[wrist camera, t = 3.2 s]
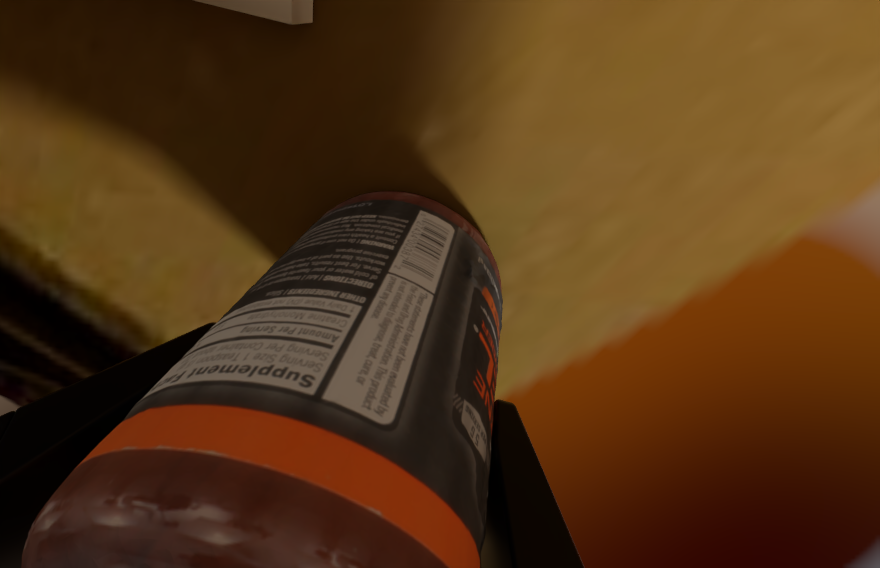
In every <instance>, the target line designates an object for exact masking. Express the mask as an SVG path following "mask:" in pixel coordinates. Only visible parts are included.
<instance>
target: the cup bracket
mask: <svg viewBox="0 0 880 568" xmlns="http://www.w3.org/2000/svg"><path fill="white" fill-rule="evenodd" d="M194 1H198V2H202V3H206V4H210V5H214V6H218V7H222V8H226V9H230V10H234V11H238V12H243V13H247V14H251V15H255V16H259V17H263V18H267V19H271V20H275V21H279V22H283V23H287V24H291V25H293V24H303V23H313V0H194Z"/></svg>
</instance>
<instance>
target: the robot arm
mask: <svg viewBox="0 0 880 568" xmlns="http://www.w3.org/2000/svg"><path fill="white" fill-rule="evenodd" d="M215 324H216V323H215V322H212V323H208V324H206V325H204V326H202V327H199V328H197V329H195V330H193V331H190V332H188V333H186V334H184V335H181V336H179V337H177V338H175V339H172V340H170V341H168V342H166V343H163V344H161V345H159V346H157V347H155V348H152V349H150V350H148V351H146V352H143V353H141V354H139V355H137V356H134V357H132V358H130V359H128V360H125V361H123V362H121V363H119V364H116V365H114V366H112V367H110V368H107V369H105V370H103V371H101V372H99V373H96V374H94V375H92V376H90V377H87V378H85V379H83V380H81V381H78V382H76V383H74V384H72V385H69V386H67V387H65V388H63V389H60V390H58V391H56V392H54V393H51V394H49V395H47V396H45V397H43V398H40V399H38V400H36V401H34V402H31V403H29V404H27V405H25V406H22V407H20V408H18V409H17V410H16V412H15V411H11V412H9V413H6V414H4V415H2V416H0V568H21V566H22V554H23V550H24V546H25V543H26V540H27V538H28V533H29V530H30V529H31V526H32V524H33V522H34V520H35V519H36V517H37V515H38V514H39V512H40V511H41V509H42V508H43V507H44V505H45V504H46V503H47V501H48V500H49V499H50V498H51V496H52V495H53V494H54V492H55V491H56V490H57V489H58V488H59V486H60V485H61V484H62V483H63V482H64V481H65V479H66V478H67V477H68V476H69V475H70V473H71V472H72V471H73V470H74V469H75V468H76V467H77V466H78V465H79V464H80V463H81V462H82V461H83V460H84V459H85V458H86V457H87V455H88V454H89V453H90V452H91V451H92V450H93V449H94V448H95V447H96V446H97V445H98V444H99V443H100V442H101V441H102V440H103V439H104V438H105V437H106V436H107V435H108V434H109V433H110V432H111V431H113V430H114V429H115V428H116V427H117V426H118V425H119V424H120V423H121V422H122V421H123V420H124V419H125V417H126V416H127V415H128V413H129V412H130V411H131V409H132V408H133V407H134V406H135V404H136V403H137V402H139V401H140V400H141V399H142V398H143V397H144V396H145V395H146V394H147V393H148V392H149V391H150V390H151V389H152V388H153V387H154V386H155V385H156V384H157V383H158V382H159V381H160V380H161V379H162V378H163V377H164V376H165V375H166V374H167V372H168V371H169V370H170V369H171V368H172V367H173V366H174V365H175V364H177V363H178V362H179V361H180V360H181V359H182V357H183V356H184V355H185V354H186V353H187V352H188V351H189V350H190V349H191V348H192V347H193V346H194V345H195V344H196V343H197V342H198V341H199V340H200V339H201V338H202V337H203V336H204V335H205V334H206V333H207V332H208V331H209V330H210V329H211V328H212V327H213V326H214V325H215ZM493 416H494V419H493V428H492V435H491V465H490V474H489V480H488V484H489V488H488V497H487V504H486V533H485V539H484V544H483V547H482V550H481V568H584V566H583V563H582V561H581V558H580V556H579V554H578V551H577V549H576V547H575V544H574V542H573V540H572V537H571V536H570V533H569V530H568V528H567V526H566V523H565V521H564V519H563V517H562V514H561V512H560V509H559V507H558V505H557V502H556V500H555V498H554V495H553V493H552V490H551V488H550V486H549V484H548V481H547V479H546V476H545V474H544V472H543V469H542V467H541V465H540V463H539V460H538V458H537V455H536V453H535V451H534V448H533V446H532V444H531V441H530V439H529V437H528V434H527V432H526V430H525V427H524V425H523V423H522V420H521V418H520V416H519V413H518V411H517V408H516V406H515V405H514V404H513V403H510V402H506V401H503V400H496V401H495V402H494V409H493Z"/></svg>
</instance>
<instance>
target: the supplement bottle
mask: <svg viewBox="0 0 880 568" xmlns="http://www.w3.org/2000/svg"><path fill="white" fill-rule="evenodd" d="M502 303H503V300H502V294H501V280H500V275H499V271H498V267H497V264H496V262H495V259H494V257H493V255H492V253H491V251H490V249H489V247H488V245H487V244H486V243H485V241H484V240H483V238H482V236H481V233H480V232H479V231H478V230H477V229H476V228H475V227H473V226H472V225H471V224H470V223H469V222H468V221H467V220H466V219H465V218H463V217H462V216H460V215H459V214H458V213H456V212H454V211H452V210H451V209H449V208H447V207H446V206H444V205H442V204H440V203H439V202H437V201H435V200H432V199H429V198H426V197H423V196H420V195H417V194H412V193H407V192H395V191H380V192H372V193H366V194H362V195H359V196H356V197H354V198H350V199H348V200H346V201H344V202H342V203H340V204H338V205H337V206H336V207H334V208H333V209H331V210H329V211H328V212H326V213H325V214H324V215H323V216H322V217H321V219H319V220H318V221H317V222H316V223H315V224H314V225H312V226H311V227H310V228H309V229H308V230H307V231H306V232H305V233H304V234H303V236H302V237H301V238H299V240H298V241H297V242H296V243H295V244H294V245H292V246H291V248H290V249H289V250H288V251H287V252H286V253H285V254H284V255H283V256H282V257H281V258H280V259H279V260H278V261H276V262H275V263H274V264H273V266H272V267H271V268H270V269H269V270H268V271H267V272H266V273H265V274H264V275H263V276H262V277H261V278H260V279H259V280H258V281H257V283H256V284H255V285H253V286H252V287H251V288H250V289H249V290H248V291H247V292H246V293H245V295H244V296H243V297H242V298H241V299H240V300H239V301H238V302H237V303H236V304H235V305H234V306H233V307H232V308H231V309H230V310H229V311H228V312H227V313H226V314H225V315H224V316H223V317H222V318H221V319H220V320H219V322H218V323H216V324H215V325H214V326H213V327H212V328H211V329H210V330H209V331H208V332H207V333H206V334H205V335H204V336H203V337H202V338H201V339H200V340H199V341H198V342H197V343H196V344H195V345H194V346H193V347H192V348H191V349H190V350H189V351H188V352H187V353H186V354H185V355H184V356H183V357H182V359H181V360H180V361H179V362H178V363H177V364H175V365H174V366H173V367H172V368H171V369H170V370H169V371H168V372H167V374H166V375H165V376H164V377H163V378H162V379H161V380H160V381H159V382H158V383H157V384H156V385H155V386H154V387H153V388H152V389H151V390H150V391H149V392H148V393H147V394H146V395H145V396H144V397H143V398H142V399H141V400H140V401H139V402H137V403H136V404H135V406H134V407H133V408H132V409H131V411H130V412H129V413H128V415H127V416H126V417H125V419H124V420H123V421H122V422H121V423H120V424H119V425H118V426H117V427H116V428H115V429H114V430H113V431H111V432H110V433H109V434H108V435H107V436H106V437H105V438H104V439H103V440H102V441H101V442H100V443H99V444H98V445H97V446H96V447H95V448H94V449H93V450H92V451H91V452H90V453H89V454H88V455H87V457H86V458H85V459H84V460H83V461H82V462H81V463H80V464H79V465H78V466H77V467H76V468H75V469H74V470H73V471H72V472H71V473H70V475H69V476H68V477H67V478H66V479H65V481H64V482H63V483H62V484H61V485H60V486H59V488H58V489H57V490H56V491H55V492H54V494H53V495H52V496H51V498H50V499H49V500H48V501H47V503H46V504H45V505H44V507H43V508H42V509H41V511H40V512H39V514H38V515H37V517H36V519H35V520H34V522H33V524H32V526H31V529H30V530H29V533H28V538H27V540H26V543H25V546H24V550H23V554H22V566H21V568H481V550H482V547H483V544H484V539H485V533H486V504H487V497H488V488H489V484H488V480H489V474H490V465H491V435H492V428H493V419H494V416H493V409H494V399H495V398H494V396H495V388H496V377H497V372H498V347H499V340H500V331H501V328H502V323H501V320H502Z"/></svg>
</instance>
